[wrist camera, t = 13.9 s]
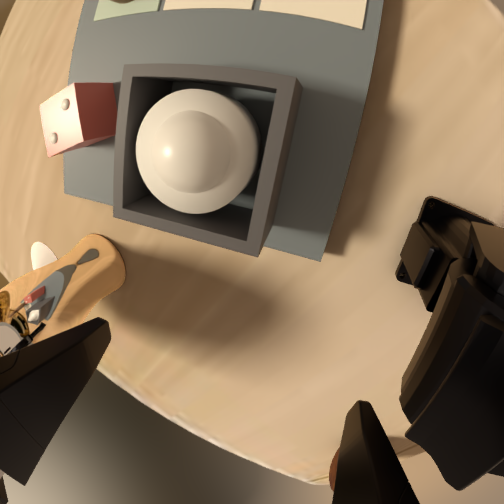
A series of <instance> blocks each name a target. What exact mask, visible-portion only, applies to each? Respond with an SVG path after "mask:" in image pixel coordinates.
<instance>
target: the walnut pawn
mask: <svg viewBox="0 0 504 504" xmlns="http://www.w3.org/2000/svg"><path fill="white" fill-rule="evenodd" d="M110 1H113V2H116V3H119V4H125V3H129V2H131V1H134V0H110Z"/></svg>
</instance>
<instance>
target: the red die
mask: <svg viewBox="0 0 504 504" xmlns="http://www.w3.org/2000/svg"><path fill="white" fill-rule="evenodd" d="M39 106H40V113H41V120H42V126H43V132H44V138H45V143H46V148H47V153H48V157H52V156H55V155H58V154H61V153H65V152H68V151H72V150H76V149H79V148H83V147H86V146H89V145H91V144H94V143H96V142H99V141H101V140H104V139H107V138H109V137H112V136H115V135H116V123H117V113H118V112H117V106H116V100H115V94H114V88H113V83H100V82H85V83H73V84H71V85H69V86H68V87H66V88H65V89H63V90H62V91H60V92H58V93H57V94H55V95H54V96H52V97H51V98H49V99H48V100H47V101H45V102H44V103H42V104H41V105H39Z"/></svg>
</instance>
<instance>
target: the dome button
mask: <svg viewBox="0 0 504 504" xmlns="http://www.w3.org/2000/svg"><path fill="white" fill-rule="evenodd" d="M261 154H262V141H261V135H260V131H259V128H258V126H257V123H256V121H255V119H254V118H253V116H252V114H251V113H250V112H249V111H248V109H247V108H246V107H245V106H244V105H243V104H241V103H240V102H239V101H237V100H236V99H234V98H232V97H230V96H228V95H226V94H223V93H219V92H214V91H208V90H202V89H185V90H180V91H176V92H174V93H171V94H169V95H167V96H165V97H164V98H162V99H161V100H159V101H158V102H157V103H156V104H155V105H154V106H153V107H152V108H151V109H150V110H149V112H148V113H147V114H146V116H145V117H144V119H143V121H142V123H141V126H140V128H139V131H138V135H137V141H136V159H137V164H138V168H139V171H140V174H141V176H142V179H143V181H144V182H145V184H146V186H147V187H148V189H149V190H150V191H151V192H152V194H153V195H154V196H155V197H156V198H157V199H159V200H160V201H161V202H162V203H164V204H165V205H167V206H169V207H170V208H173V209H175V210H177V211H181V212H185V213H191V214H201V213H208V212H212V211H215V210H217V209H220V208H221V207H223V206H225V205H227V204H228V203H229V202H231V201H232V200H233V199H234V198H235V197H236V196H237V195H238V194H239V193H240V192H241V191H242V190H244V189H245V188H246V187H247V186H248V184H249V183H250V182H251V181H252V179H253V178H254V176H255V174H256V172H257V170H258V167H259V164H260V160H261Z"/></svg>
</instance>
